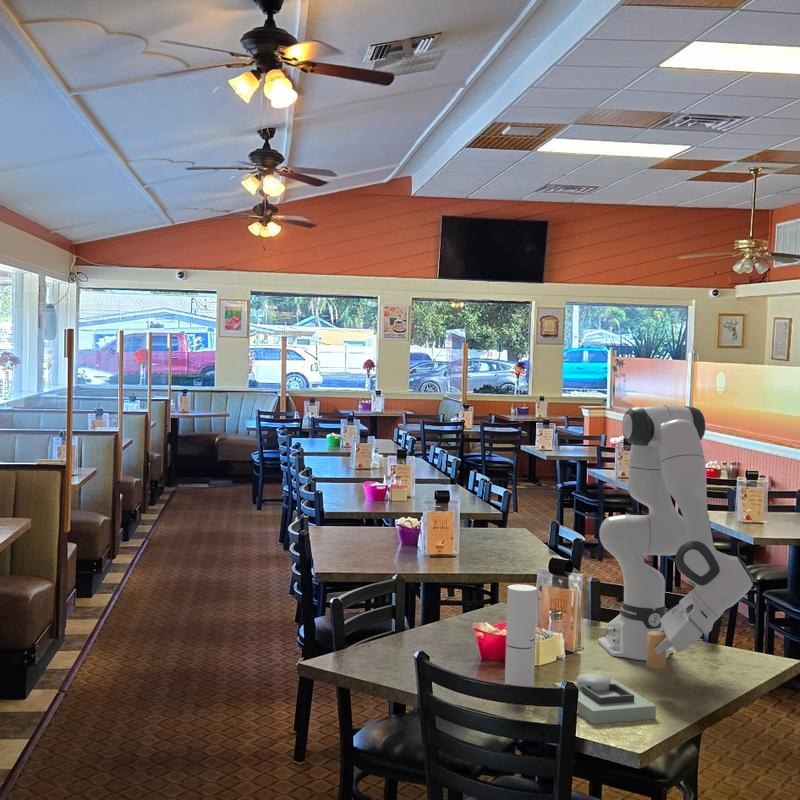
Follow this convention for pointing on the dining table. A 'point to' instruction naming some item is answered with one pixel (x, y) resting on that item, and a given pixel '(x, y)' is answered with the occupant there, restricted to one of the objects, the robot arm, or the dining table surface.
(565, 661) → the dining table surface
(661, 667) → the orange cylinder
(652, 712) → the stepped grey tray
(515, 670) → the cylindrical container
